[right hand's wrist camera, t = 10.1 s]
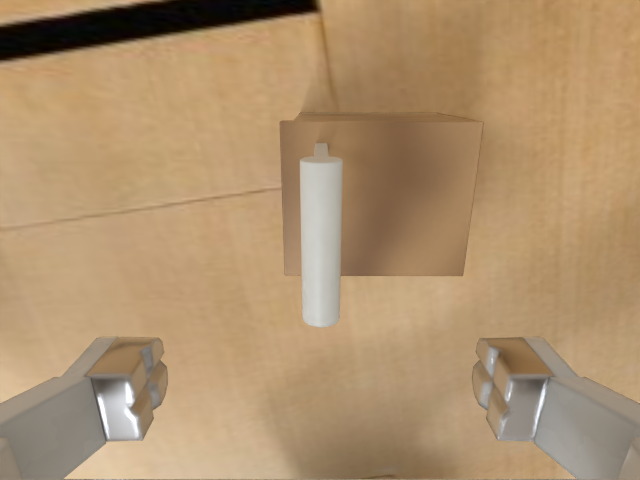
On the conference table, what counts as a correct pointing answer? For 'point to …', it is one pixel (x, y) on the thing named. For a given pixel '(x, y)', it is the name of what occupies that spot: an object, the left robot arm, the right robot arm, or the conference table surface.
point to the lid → (374, 202)
